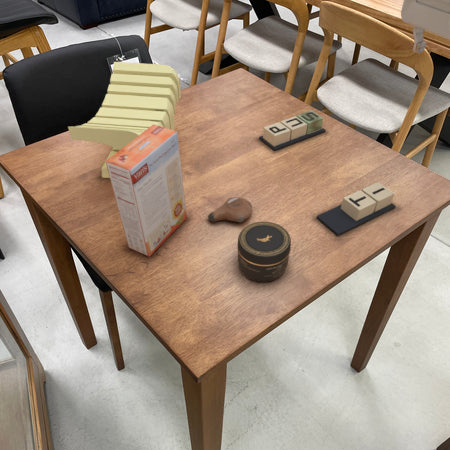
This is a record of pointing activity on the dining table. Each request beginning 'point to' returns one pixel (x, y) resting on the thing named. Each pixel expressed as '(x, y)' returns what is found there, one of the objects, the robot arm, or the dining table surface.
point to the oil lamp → (232, 210)
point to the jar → (263, 251)
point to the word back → (286, 133)
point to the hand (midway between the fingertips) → (436, 59)
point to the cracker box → (149, 188)
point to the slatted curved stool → (132, 106)
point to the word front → (358, 208)
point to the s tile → (311, 121)
